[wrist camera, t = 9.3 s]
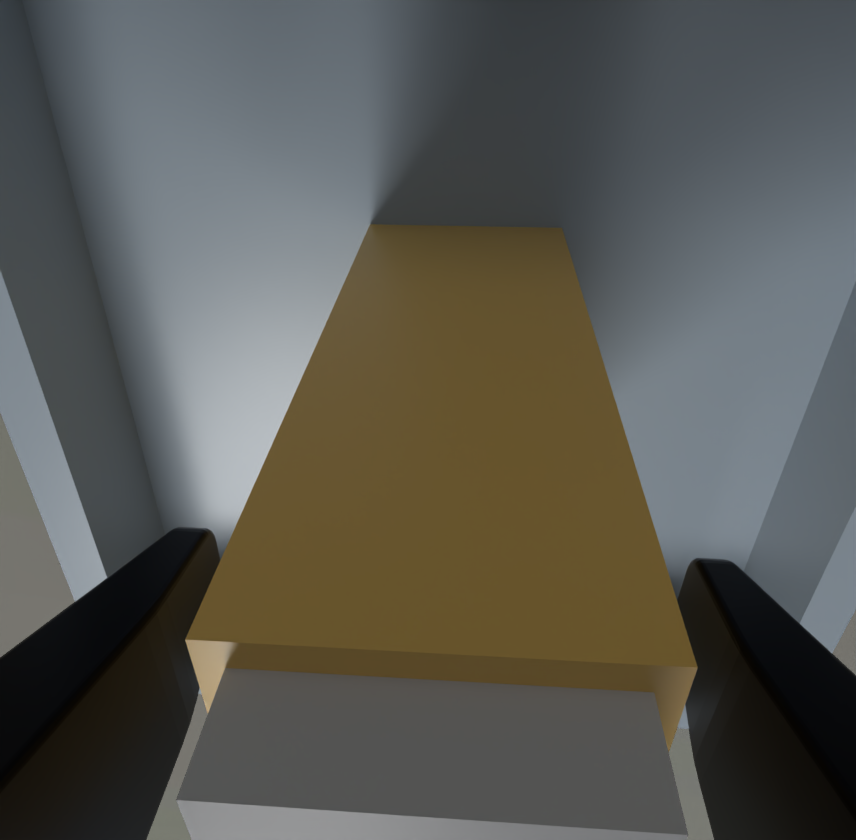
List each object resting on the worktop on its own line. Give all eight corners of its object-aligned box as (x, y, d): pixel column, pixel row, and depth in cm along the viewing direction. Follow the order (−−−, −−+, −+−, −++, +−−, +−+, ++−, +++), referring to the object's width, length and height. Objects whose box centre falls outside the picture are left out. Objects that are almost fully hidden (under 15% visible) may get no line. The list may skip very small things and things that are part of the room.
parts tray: (740, 617, 16) (787, 736, 14) (164, 581, 17) (108, 687, 14) (1047, -142, 8) (1284, -189, 6) (-43, -154, 9) (-243, -202, 7)
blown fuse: (561, 228, 11) (742, 812, 3) (536, 459, 13) (606, 1089, 6) (369, 224, 11) (127, 772, 3) (381, 453, 13) (255, 1057, 6)
